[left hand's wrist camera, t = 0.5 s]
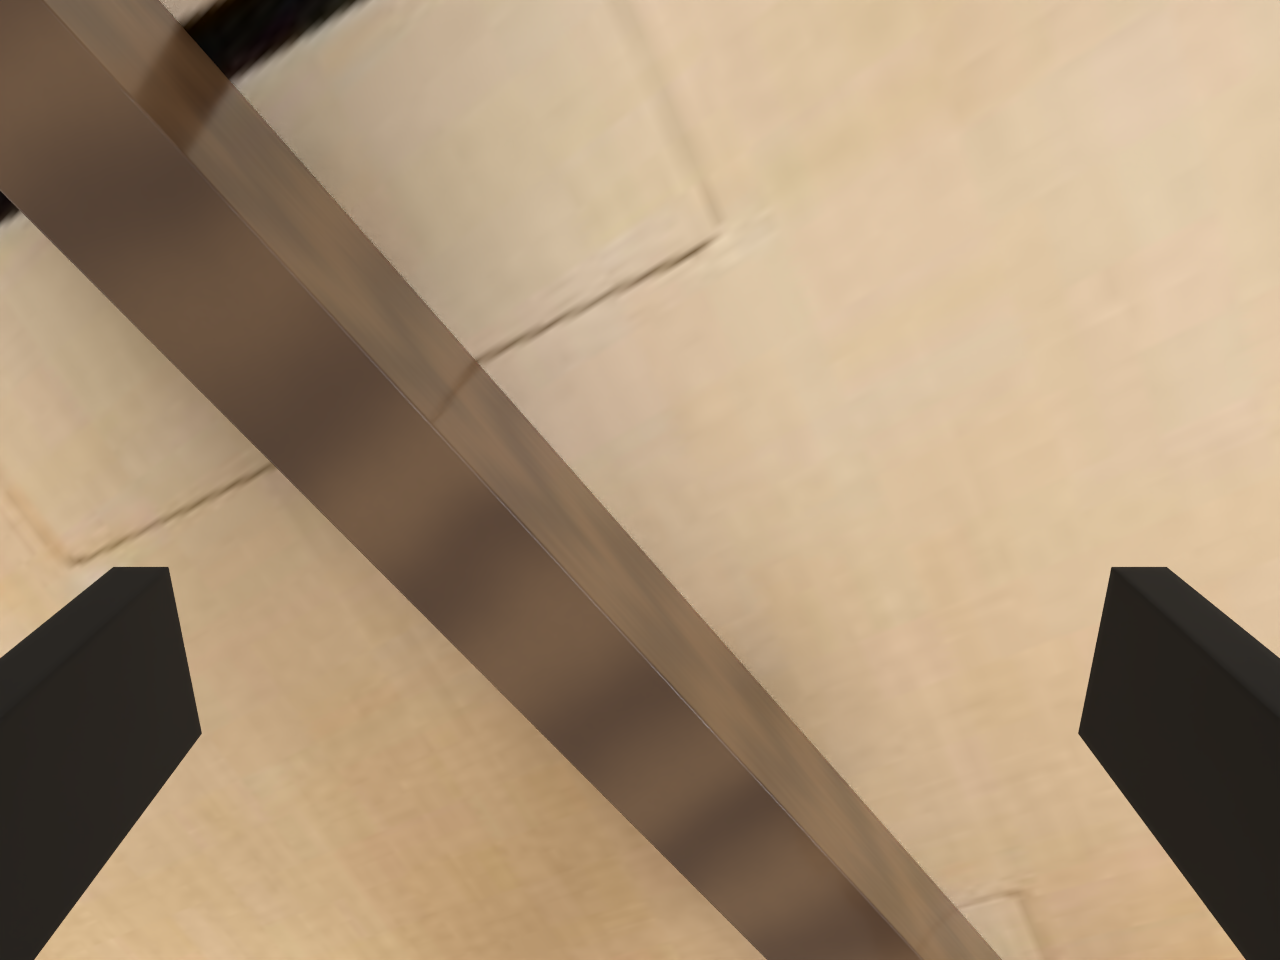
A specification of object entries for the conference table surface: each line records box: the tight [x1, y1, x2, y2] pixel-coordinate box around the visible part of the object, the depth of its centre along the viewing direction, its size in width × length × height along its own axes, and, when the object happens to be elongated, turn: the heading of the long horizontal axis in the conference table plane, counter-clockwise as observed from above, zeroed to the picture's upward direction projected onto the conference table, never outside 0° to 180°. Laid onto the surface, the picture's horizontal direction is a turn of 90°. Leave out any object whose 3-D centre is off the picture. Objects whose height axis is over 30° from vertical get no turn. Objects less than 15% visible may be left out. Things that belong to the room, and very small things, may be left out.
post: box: [0, 0, 1001, 960], centre depth 37 cm, size 75×5×9 cm, turn 39°
